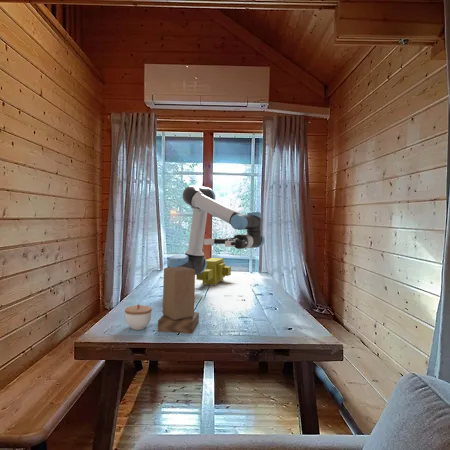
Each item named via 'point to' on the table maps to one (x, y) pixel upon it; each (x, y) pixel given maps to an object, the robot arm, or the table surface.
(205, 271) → the toy blocks
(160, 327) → the base brick
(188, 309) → the wooden block
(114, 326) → the table surface
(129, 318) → the lidded jar
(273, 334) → the table surface
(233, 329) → the table surface
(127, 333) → the table surface
